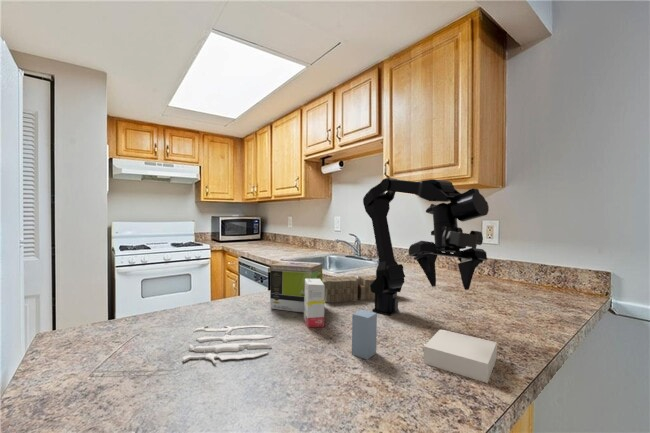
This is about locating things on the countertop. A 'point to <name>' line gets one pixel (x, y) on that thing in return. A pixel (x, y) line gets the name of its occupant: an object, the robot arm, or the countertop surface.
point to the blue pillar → (364, 333)
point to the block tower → (348, 288)
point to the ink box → (314, 303)
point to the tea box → (291, 284)
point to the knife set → (219, 345)
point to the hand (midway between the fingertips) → (450, 288)
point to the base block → (461, 354)
